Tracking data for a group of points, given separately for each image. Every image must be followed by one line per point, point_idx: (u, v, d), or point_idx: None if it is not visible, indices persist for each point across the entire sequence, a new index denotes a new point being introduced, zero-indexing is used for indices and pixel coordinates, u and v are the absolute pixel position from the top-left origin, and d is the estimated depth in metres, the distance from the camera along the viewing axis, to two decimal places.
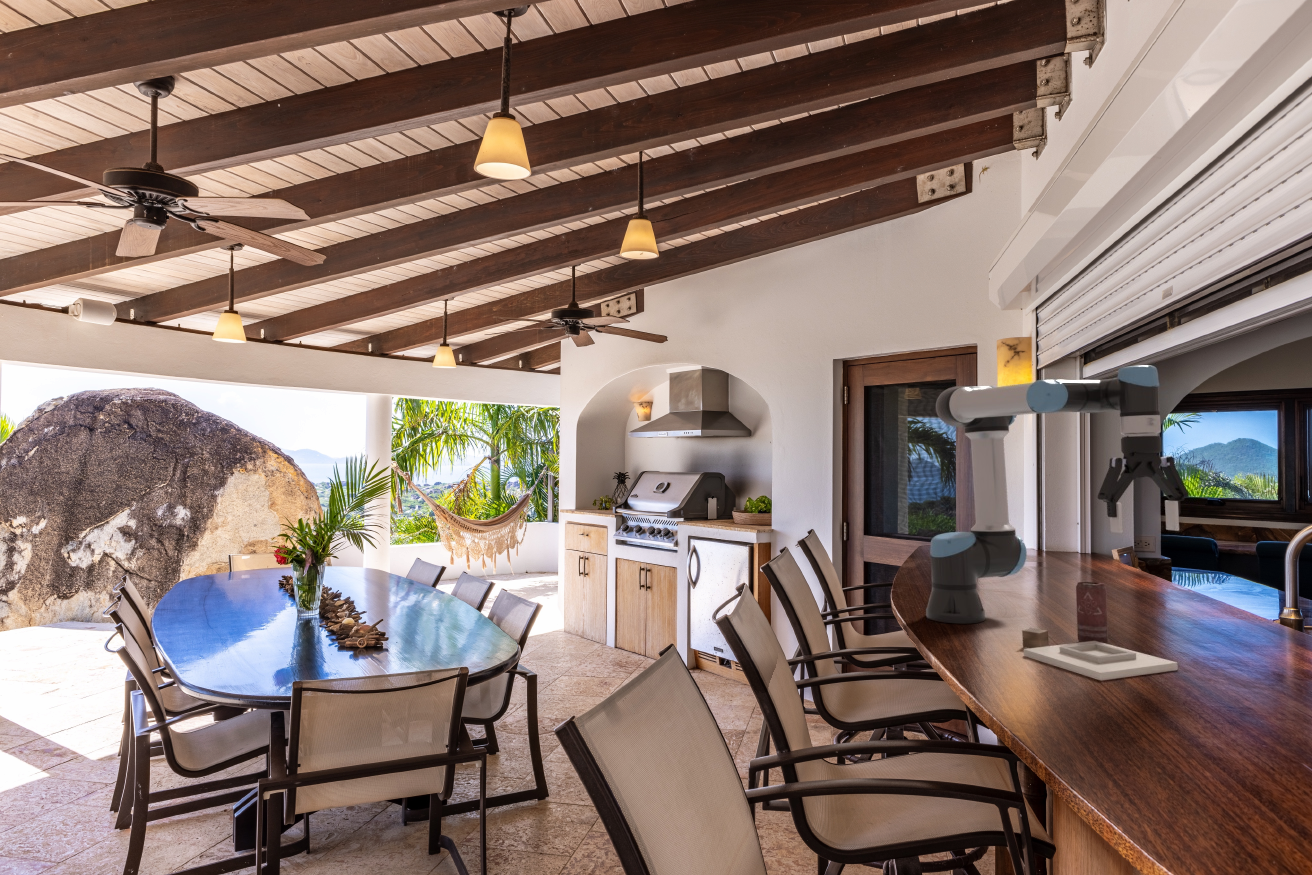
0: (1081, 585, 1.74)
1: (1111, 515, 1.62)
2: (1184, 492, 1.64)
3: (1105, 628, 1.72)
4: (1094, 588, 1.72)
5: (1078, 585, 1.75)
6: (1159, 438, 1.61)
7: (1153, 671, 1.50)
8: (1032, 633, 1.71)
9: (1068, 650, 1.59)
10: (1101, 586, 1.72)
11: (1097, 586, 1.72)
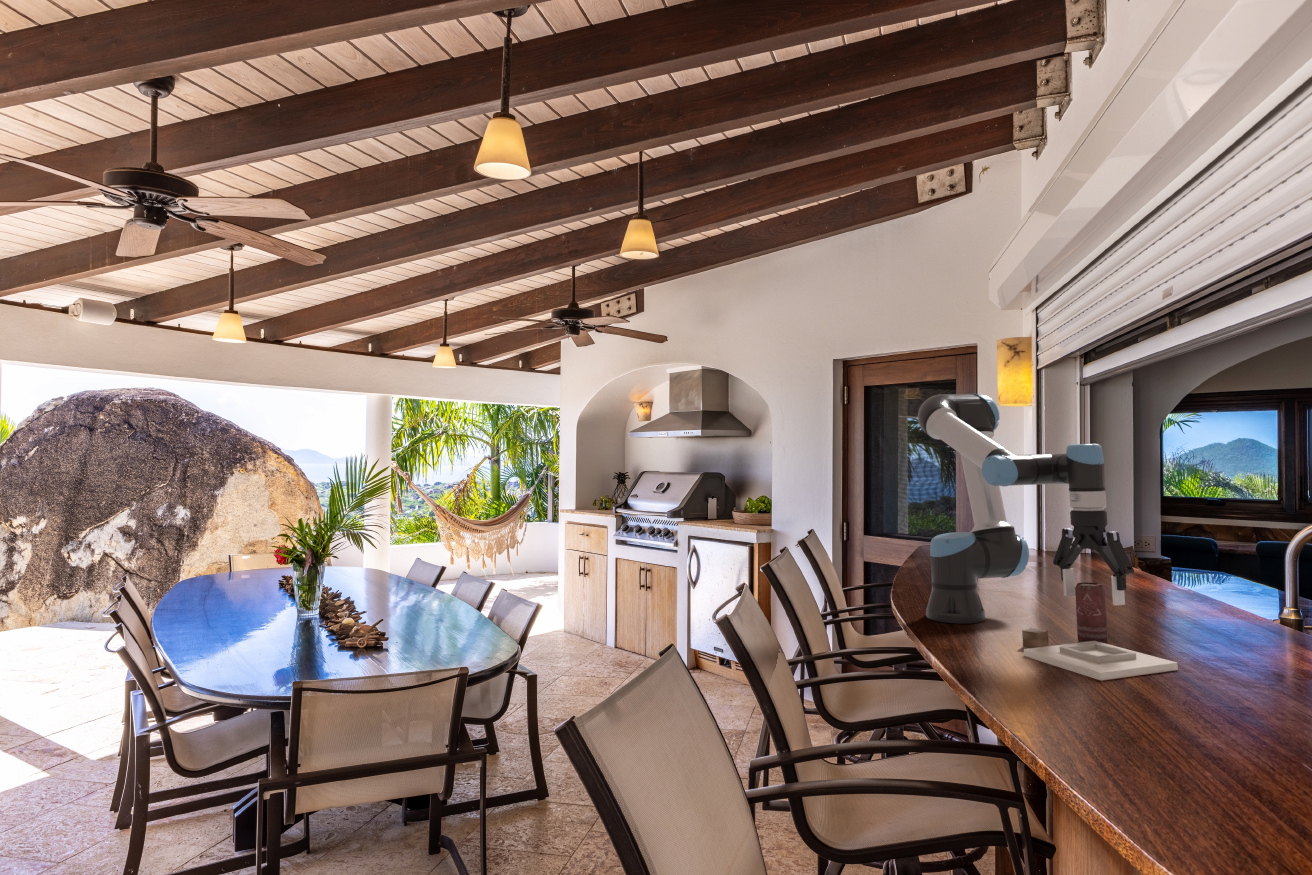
0: (1080, 586, 1.74)
1: None
2: (1121, 568, 1.65)
3: (1105, 629, 1.72)
4: (1093, 589, 1.72)
5: (1077, 586, 1.75)
6: (1082, 513, 1.72)
7: (1153, 671, 1.50)
8: (1032, 633, 1.71)
9: (1068, 650, 1.59)
10: (1100, 587, 1.72)
11: (1096, 587, 1.72)
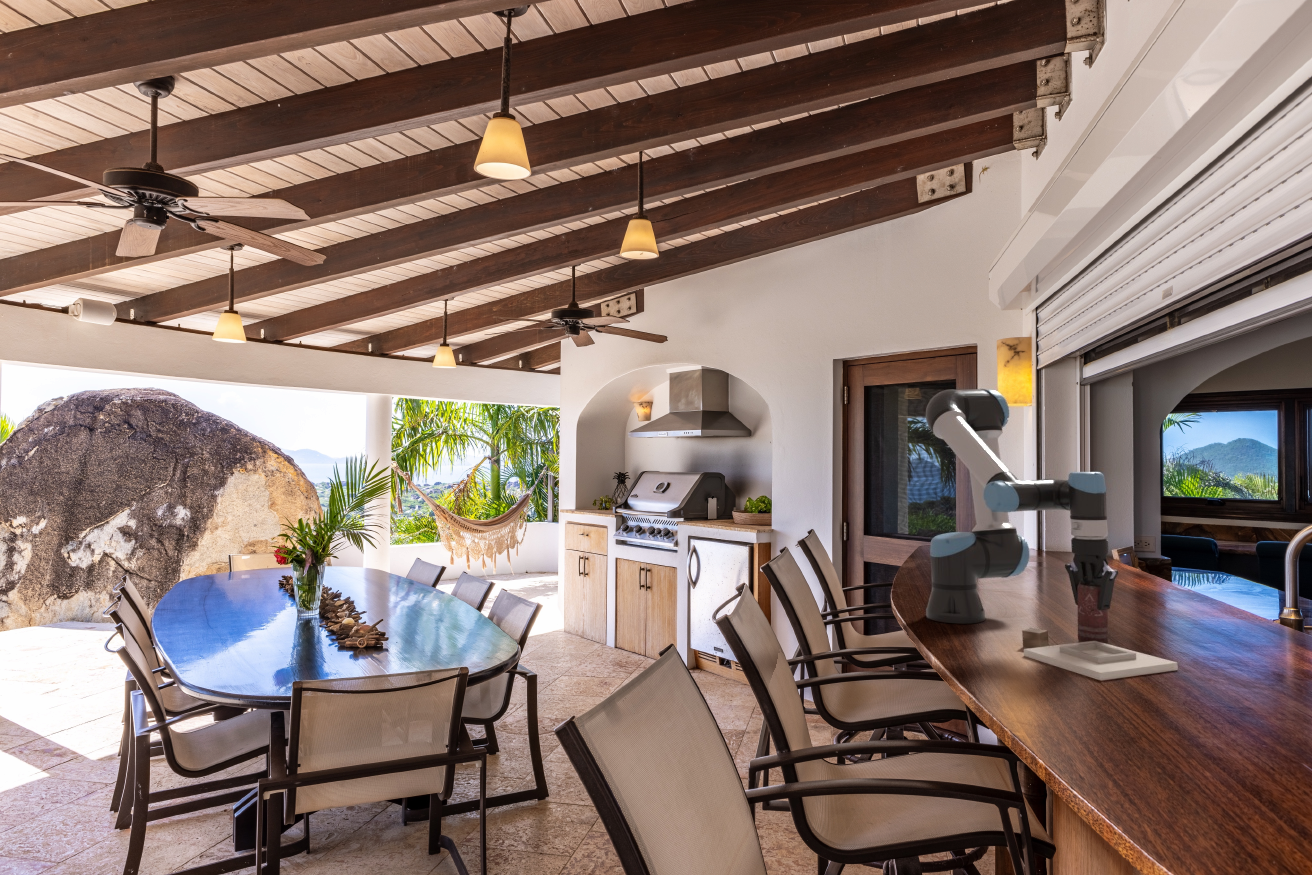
0: (1083, 586, 1.73)
1: None
2: (1099, 604, 1.70)
3: (1106, 629, 1.72)
4: (1096, 590, 1.71)
5: (1080, 586, 1.74)
6: (1084, 542, 1.72)
7: (1153, 671, 1.50)
8: (1032, 633, 1.71)
9: (1068, 650, 1.59)
10: None
11: (1099, 588, 1.71)
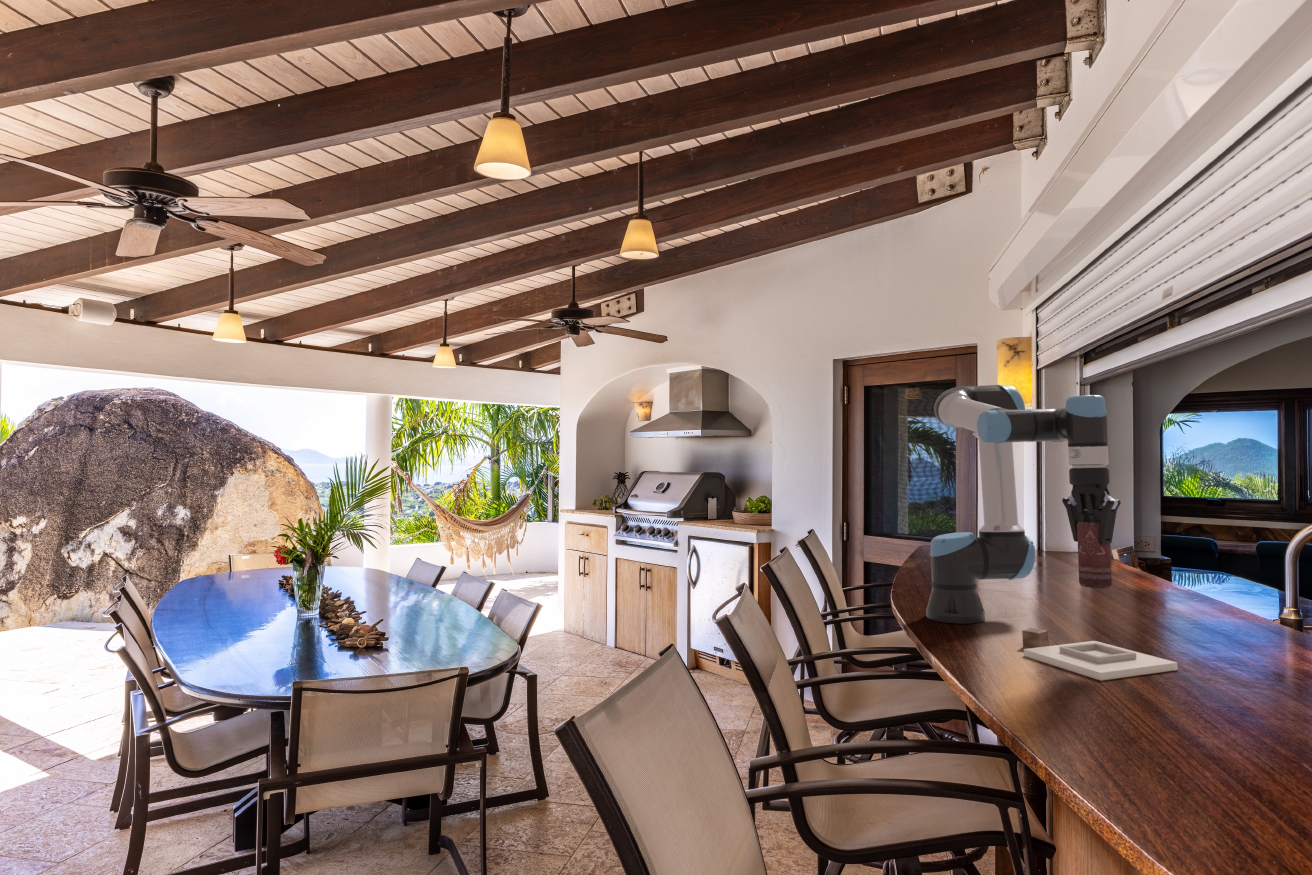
0: (1083, 523, 1.59)
1: None
2: (1100, 538, 1.56)
3: (1109, 569, 1.57)
4: (1097, 526, 1.57)
5: (1079, 523, 1.60)
6: (1083, 470, 1.57)
7: (1153, 671, 1.50)
8: (1032, 633, 1.71)
9: (1068, 650, 1.59)
10: None
11: (1100, 524, 1.57)
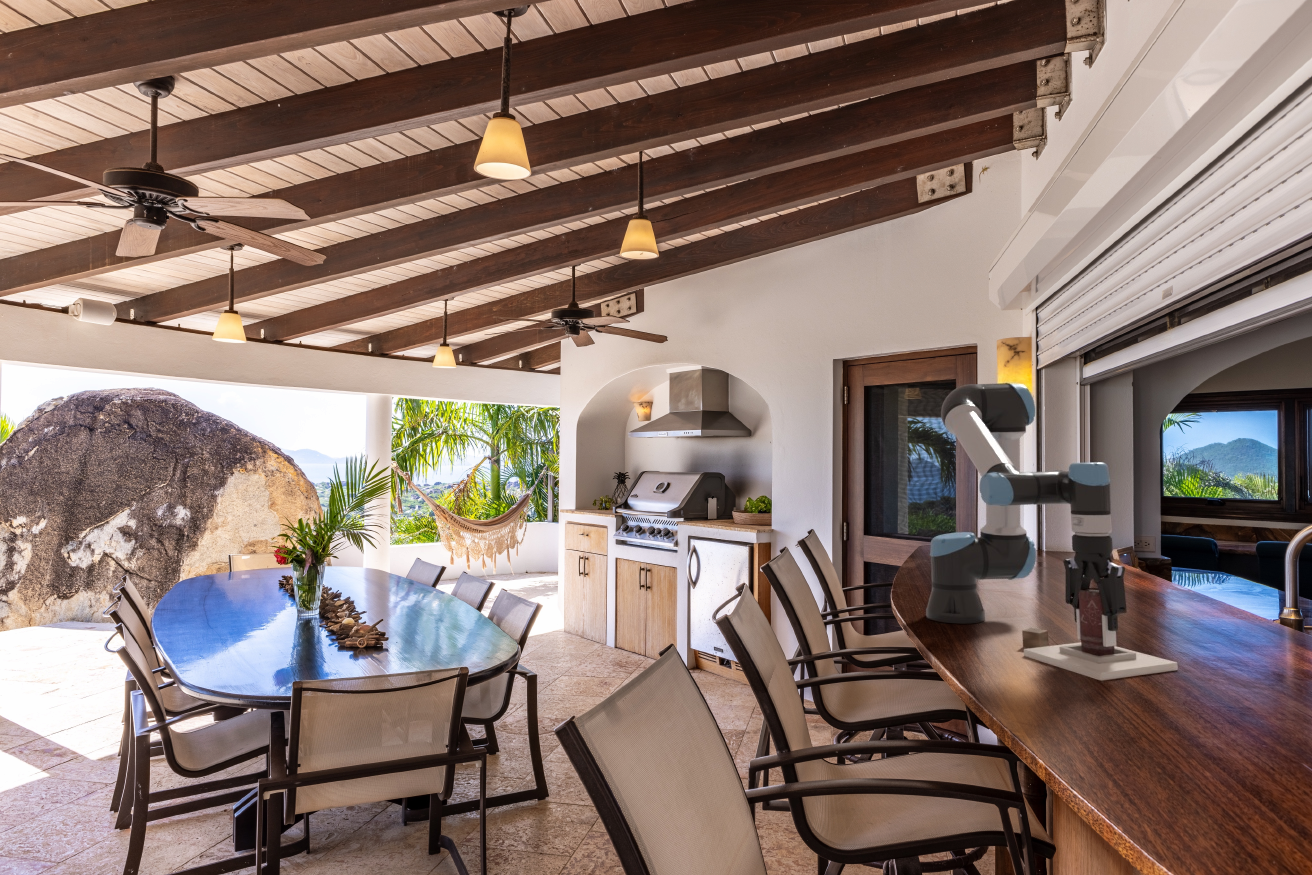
0: (1084, 592, 1.58)
1: None
2: (1113, 607, 1.53)
3: None
4: (1099, 596, 1.56)
5: (1081, 592, 1.59)
6: (1085, 539, 1.57)
7: (1153, 671, 1.50)
8: (1032, 633, 1.71)
9: (1068, 650, 1.59)
10: None
11: None
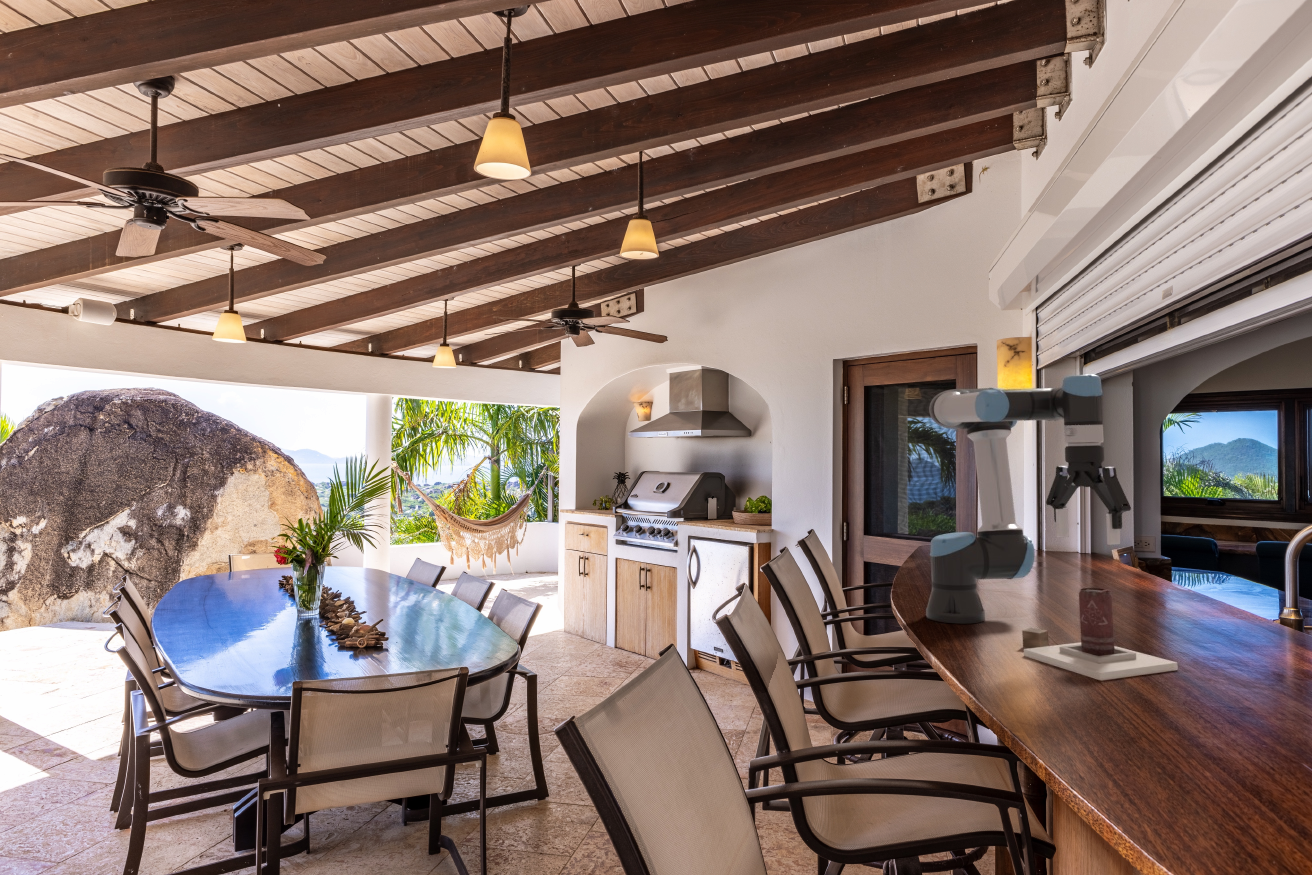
0: (1084, 592, 1.58)
1: None
2: (1117, 506, 1.55)
3: (1111, 639, 1.56)
4: (1099, 596, 1.56)
5: (1081, 592, 1.59)
6: (1078, 448, 1.61)
7: (1153, 671, 1.50)
8: (1032, 633, 1.71)
9: (1068, 650, 1.59)
10: (1106, 593, 1.57)
11: (1102, 593, 1.56)
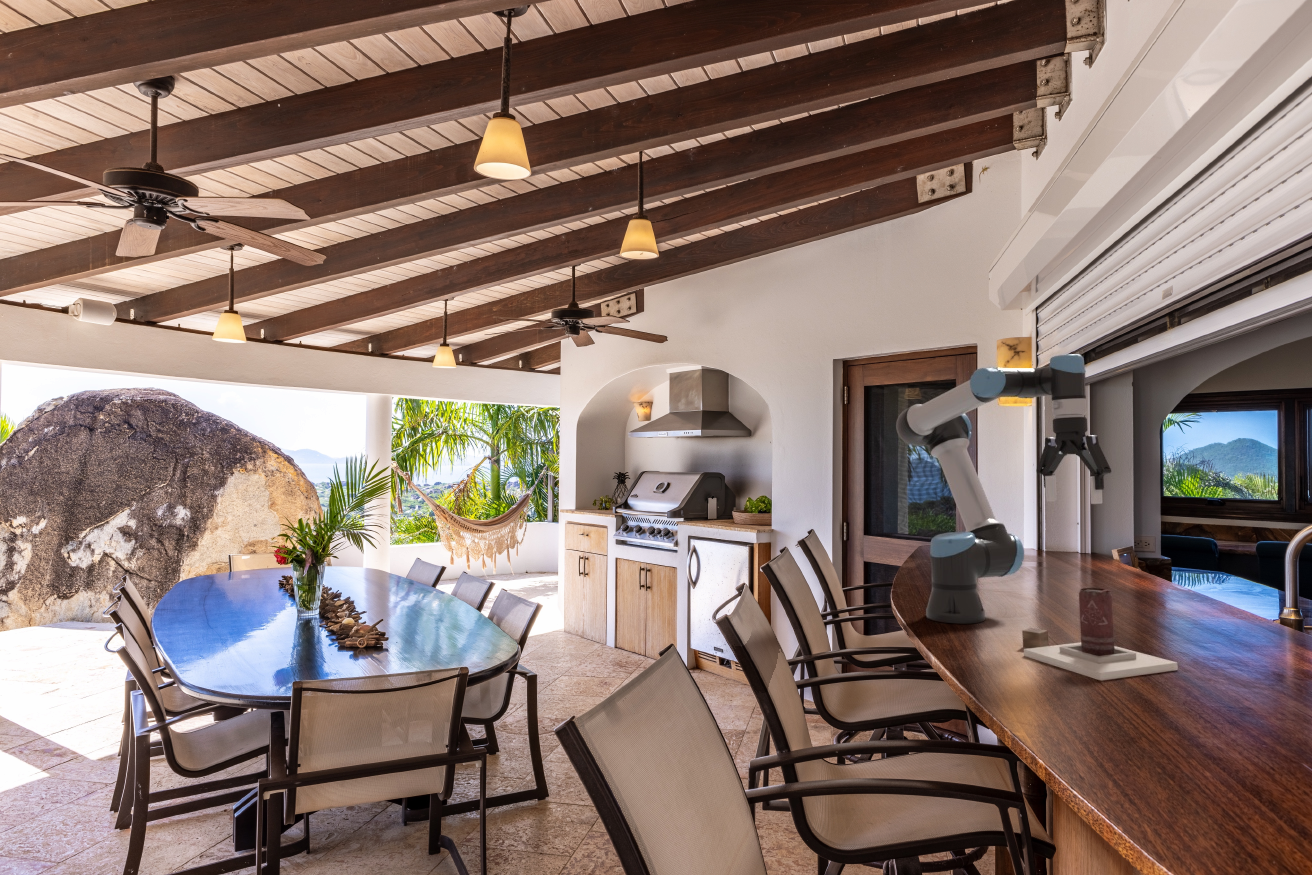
0: (1084, 592, 1.58)
1: None
2: (1099, 468, 1.74)
3: (1111, 639, 1.56)
4: (1099, 596, 1.56)
5: (1081, 592, 1.59)
6: (1064, 419, 1.81)
7: (1153, 671, 1.50)
8: (1032, 633, 1.71)
9: (1068, 650, 1.59)
10: (1106, 593, 1.57)
11: (1102, 593, 1.56)
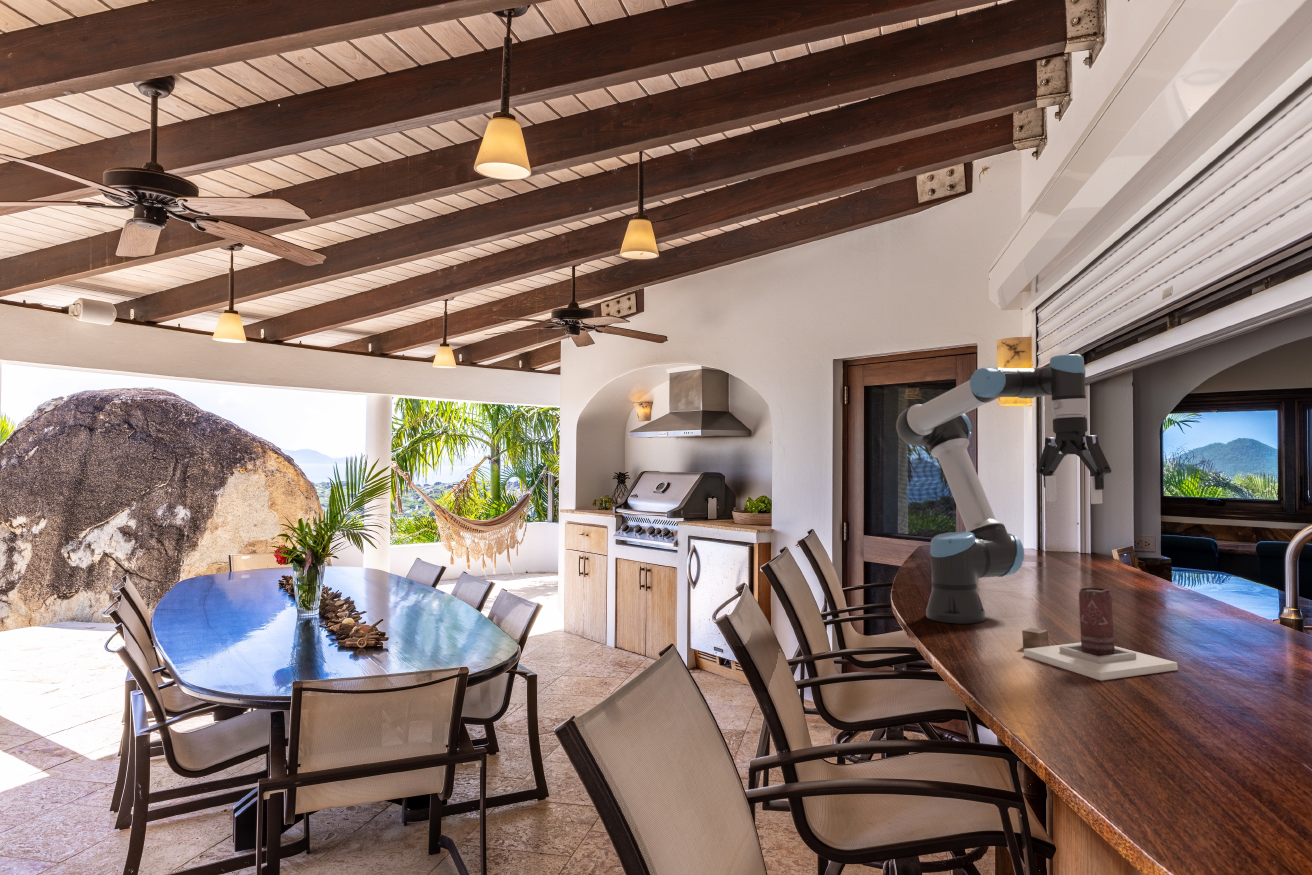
0: (1084, 592, 1.58)
1: None
2: (1099, 468, 1.74)
3: (1111, 639, 1.56)
4: (1099, 596, 1.56)
5: (1081, 592, 1.59)
6: (1064, 419, 1.81)
7: (1153, 671, 1.50)
8: (1032, 633, 1.71)
9: (1068, 650, 1.59)
10: (1106, 593, 1.57)
11: (1102, 593, 1.56)
